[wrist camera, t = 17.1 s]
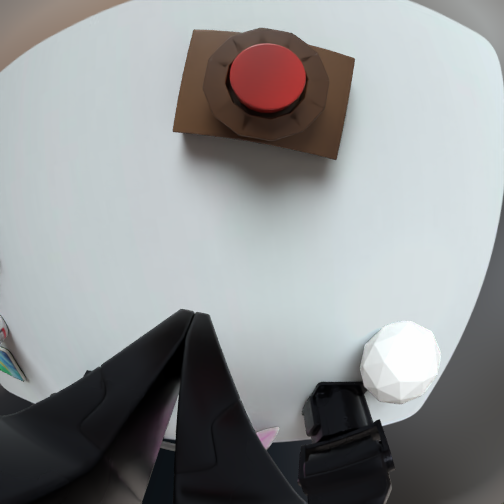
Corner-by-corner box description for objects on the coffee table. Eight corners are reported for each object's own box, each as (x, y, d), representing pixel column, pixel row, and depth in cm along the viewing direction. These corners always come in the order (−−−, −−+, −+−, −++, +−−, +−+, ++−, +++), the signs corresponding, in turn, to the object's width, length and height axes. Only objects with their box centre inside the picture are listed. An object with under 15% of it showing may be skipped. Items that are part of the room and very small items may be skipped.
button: (305, 60, 12) (311, 51, 10) (294, 119, 13) (299, 117, 11) (239, 48, 11) (237, 37, 10) (226, 107, 13) (223, 103, 11)
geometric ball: (360, 320, 26) (346, 345, 19) (433, 305, 22) (445, 326, 15) (368, 384, 25) (354, 423, 18) (437, 372, 21) (445, 411, 14)
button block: (344, 65, 14) (365, 51, 11) (327, 157, 17) (345, 163, 14) (200, 40, 14) (186, 18, 10) (181, 132, 17) (162, 131, 13)
